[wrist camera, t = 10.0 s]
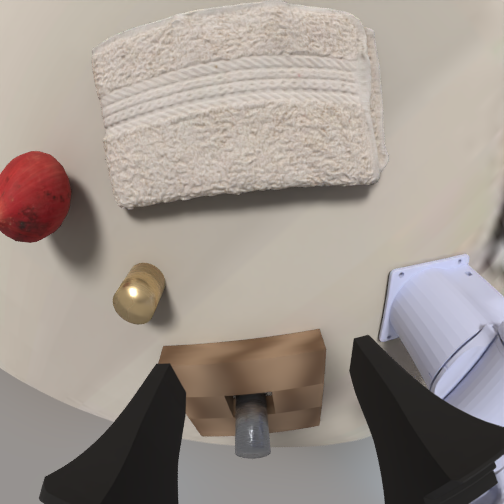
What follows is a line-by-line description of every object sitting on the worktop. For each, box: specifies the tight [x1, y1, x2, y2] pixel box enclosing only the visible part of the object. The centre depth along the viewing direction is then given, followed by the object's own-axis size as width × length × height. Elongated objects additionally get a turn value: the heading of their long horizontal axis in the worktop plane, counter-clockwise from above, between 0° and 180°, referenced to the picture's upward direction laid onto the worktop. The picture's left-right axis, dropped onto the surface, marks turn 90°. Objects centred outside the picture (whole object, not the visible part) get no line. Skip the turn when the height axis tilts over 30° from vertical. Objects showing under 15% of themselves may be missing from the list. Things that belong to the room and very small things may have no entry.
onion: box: [0, 151, 71, 243], centre depth 12 cm, size 6×6×8 cm
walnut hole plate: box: [158, 329, 326, 436], centre depth 24 cm, size 14×14×2 cm
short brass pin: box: [113, 263, 165, 324], centre depth 18 cm, size 3×3×4 cm
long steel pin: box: [235, 392, 271, 458], centre depth 22 cm, size 3×3×8 cm
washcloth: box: [92, 0, 389, 209], centre depth 14 cm, size 12×18×3 cm, turn 97°
